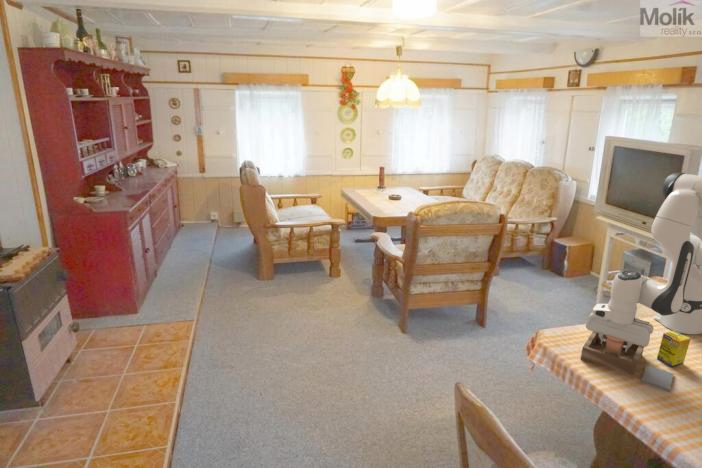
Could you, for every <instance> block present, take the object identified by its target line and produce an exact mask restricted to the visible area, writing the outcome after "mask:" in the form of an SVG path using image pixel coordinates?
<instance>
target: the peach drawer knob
mask: <svg viewBox="0 0 702 468" xmlns="http://www.w3.org/2000/svg"><path fill="white" fill-rule="evenodd" d="M606 337H607V341H606V346H604V351H603V352H604V353H607V354H611V355H614V356H617V357H620V358H621V355H622V351H621V350H622V346H623V342H625V341H623V339H620V338H616V337H613V336H610V335H606Z"/></svg>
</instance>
